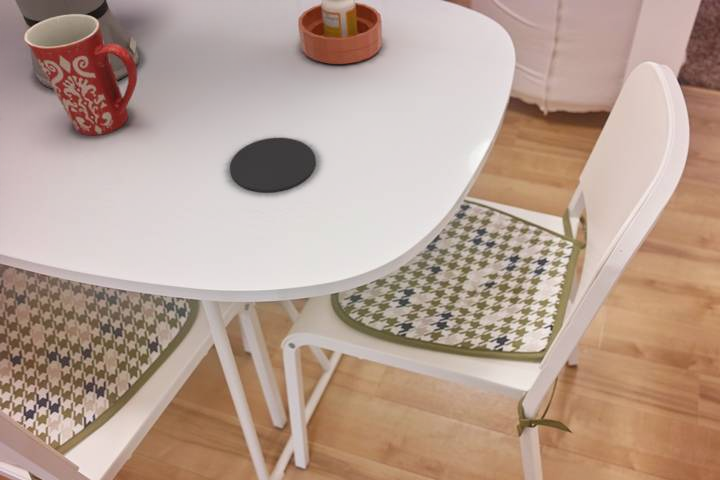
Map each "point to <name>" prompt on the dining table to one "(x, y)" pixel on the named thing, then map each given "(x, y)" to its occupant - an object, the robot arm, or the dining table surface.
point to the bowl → (344, 47)
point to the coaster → (272, 164)
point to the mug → (83, 71)
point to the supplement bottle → (339, 18)
